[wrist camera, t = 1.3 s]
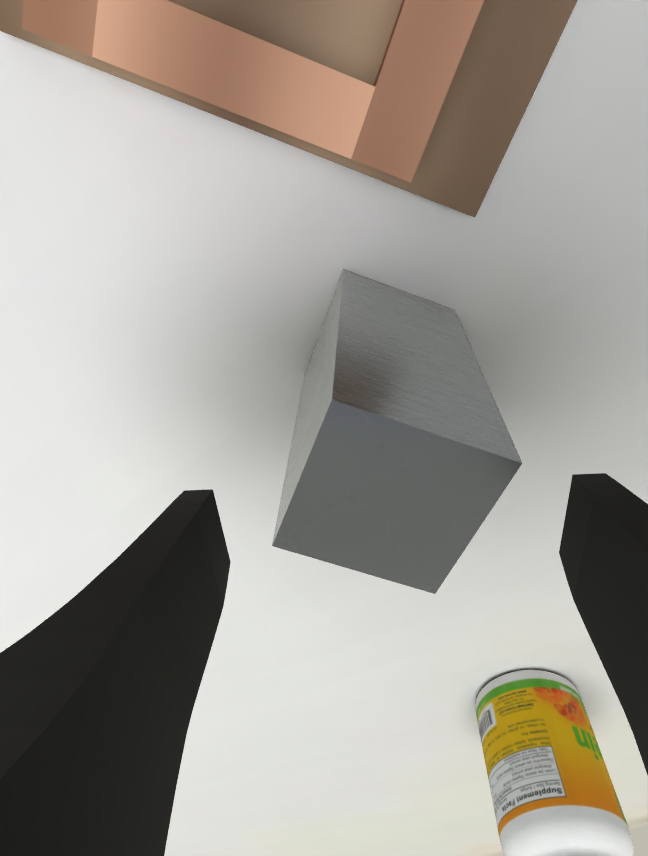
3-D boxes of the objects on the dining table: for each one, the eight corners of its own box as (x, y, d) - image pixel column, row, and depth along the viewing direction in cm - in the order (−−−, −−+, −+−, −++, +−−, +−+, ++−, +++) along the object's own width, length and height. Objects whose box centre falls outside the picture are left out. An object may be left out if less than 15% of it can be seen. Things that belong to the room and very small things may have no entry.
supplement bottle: (594, 709, 30) (685, 950, 21) (500, 737, 31) (551, 969, 23) (554, 653, 27) (638, 897, 19) (456, 686, 29) (494, 922, 21)
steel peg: (454, 310, 19) (521, 463, 11) (406, 407, 21) (435, 593, 13) (343, 269, 18) (331, 399, 10) (305, 372, 20) (272, 546, 12)
